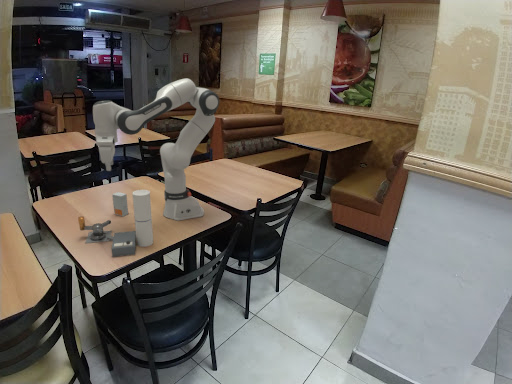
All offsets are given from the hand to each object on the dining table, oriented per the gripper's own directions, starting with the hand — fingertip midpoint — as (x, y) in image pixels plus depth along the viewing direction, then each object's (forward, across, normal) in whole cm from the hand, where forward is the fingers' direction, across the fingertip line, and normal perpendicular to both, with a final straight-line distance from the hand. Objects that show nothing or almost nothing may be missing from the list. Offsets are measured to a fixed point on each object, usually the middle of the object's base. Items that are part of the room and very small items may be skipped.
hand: (110, 167), depth 141 cm
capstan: (+31, +9, -9) cm, 33 cm away
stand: (+31, +16, -1) cm, 35 cm away
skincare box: (+31, -15, +1) cm, 35 cm away
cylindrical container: (+31, +19, +14) cm, 39 cm away
